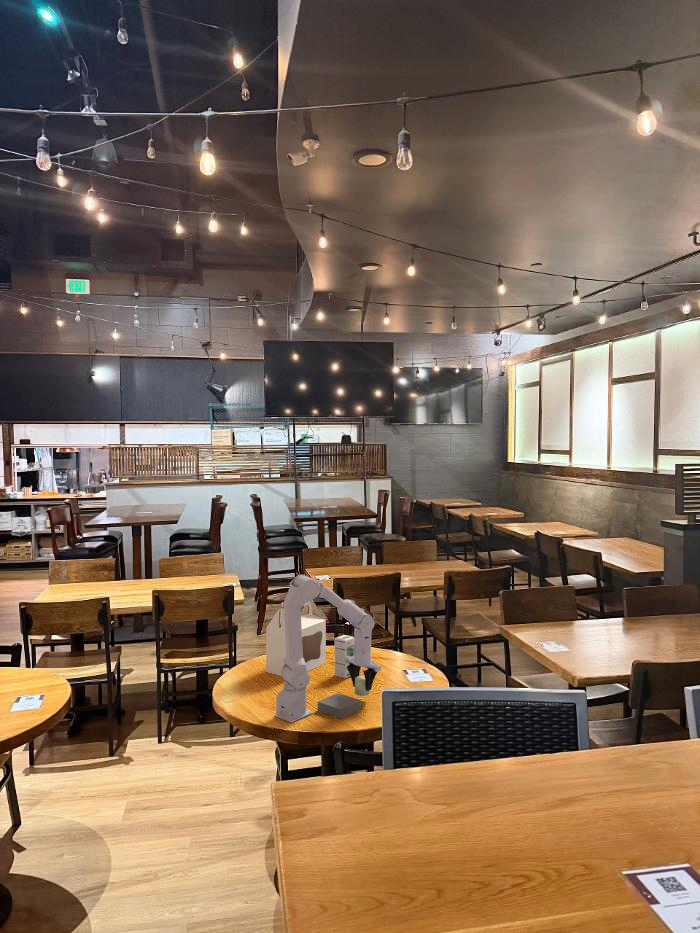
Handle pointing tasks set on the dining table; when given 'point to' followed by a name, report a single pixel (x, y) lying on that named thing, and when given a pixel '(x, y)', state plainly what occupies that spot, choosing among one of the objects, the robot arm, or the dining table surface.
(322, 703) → the charcoal plinth
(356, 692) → the green cylinder
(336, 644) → the syrup box
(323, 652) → the gable box
